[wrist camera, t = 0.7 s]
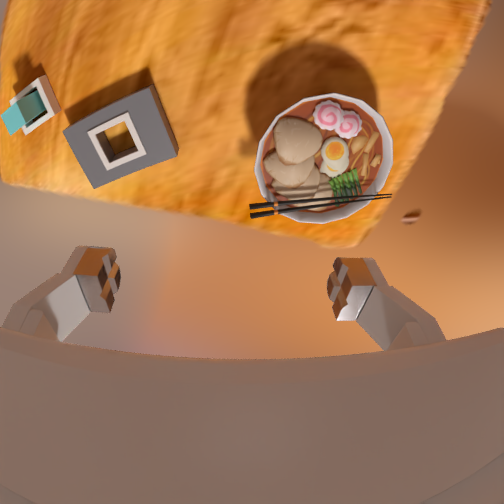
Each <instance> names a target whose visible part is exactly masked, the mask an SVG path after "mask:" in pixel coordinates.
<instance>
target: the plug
mask: <svg viewBox="0 0 504 504" xmlns="http://www.w3.org/2000/svg"><path fill="white" fill-rule="evenodd" d="M45 110H46V107H45V105H44V103H43V101H42V98H41V96H40V94H39V92H38V90H37V91H35V92H33V93H31V94H29V95H27V96H26V97H24V98H22V99H20V100H18V101H17V102H15V103H14V104H13V105H12V106H11V107H9V108H8V109H7V110H6V111H5V112H4V113H3V114H2V115H1V117H2V119H3V121H4V123H5V125H6V127H7V129H8V131H9V133H10V135H12V134H13V133H14V132H16V131H17V130H18V129H20V128H21V127H22V126H24V125H25V124H27V123H28V122H29V121H31V120H32V119H34V118H35V117H36V116H38V115H39V114H41V113H42V112H43V111H45Z"/></svg>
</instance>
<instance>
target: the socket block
mask: <svg viewBox="0 0 504 504" xmlns="http://www.w3.org/2000/svg"><path fill="white" fill-rule="evenodd" d="M123 121H125V123H126V125H127V127H128V129H129V132H130V134H131V136H132V138H133V140H134V142H135V145H136V146H134V147H132V148H130V149H127V150H125V151H123V152H120V153H118V154H116V155H115V154H114V152H113V150H112V148H111V146H110V144H109V142H108V140H107V137H106V135H105V133H104V130H106V129H108V128H110V127H112V126H114V125H116V124H118V123H121V122H123ZM62 132H63V133H64V135H65V137H66V139H67V141H68V143H69V145H70V147H71V149H72V151H73V153H74V154H75V156H76V158H77V160H78V162H79V164H80V165H81V167H82V169H83V171H84V173H85V174H86V176H87V178H88V180H89V181H90V183H91V185H92V186H93V188H94V189H95V188H98V187H100V186H102V185H104V184H107V183H109V182H111V181H114V180H116V179H119V178H121V177H123V176H126V175H128V174H131V173H133V172H136V171H138V170H141V169H144V168H146V167H149V166H152V165H154V164H157V163H160V162H163V161H165V160H168V159H171V158H174V157H177V155H178V151H179V147H178V145H177V143H176V140H175V138H174V135H173V133H172V130H171V128H170V125H169V123H168V120H167V118H166V115H165V113H164V110H163V108H162V105H161V102H160V100H159V97H158V95H157V92H156V90H155V87H154V85H153V84H152V85H150V86H147V87H145V88H142V89H140V90H138V91H135V92H133V93H131V94H129V95H127V96H124V97H122V98H120V99H118V100H116V101H114V102H112V103H110V104H108V105H106V106H104V107H102V108H100V109H98V110H96V111H94V112H92V113H90V114H89V115H87V116H85V117H83V118H81V119H80V120H78V121H76V122H74V123H73V124H71V125H69V126H68V127H67V128H66V129H65V130H64V131H62Z"/></svg>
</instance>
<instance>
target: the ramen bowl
mask: <svg viewBox="0 0 504 504" xmlns="http://www.w3.org/2000/svg"><path fill="white" fill-rule="evenodd" d="M392 165H393V139H392V137H391V134H390V132H389V129H388V127H387V125H386V123H385V120H384V118H383V117H382V116H381V115H380V114H379V113H378V112H377V111H375V110H374V109H373V108H372V107H371V106H369V105H368V104H367V103H366V102H365V101H363V100H361V99H357V98H354V97H350V96H346V95H343V94H339V93H329V94H323V95H317V96H312V97H307V98H303V99H301V100H300V101H298V102H297V103H295V104H294V105H292V106H291V107H289V108H287V109H286V110H284V111H283V112H281V113H280V114H278V115H277V116H276V117H275V118H274V120H273V121H272V123H271V124H270V126H269V128H268V129H267V131H266V132H265V134H264V135H263V137H262V138H261V140H260V141H259V145H258V151H257V156H256V162H255V168H254V172H255V175H256V178H257V182H258V185H259V188H260V192H261V195H262V196H263V197H264V198H265V199H266V200H267V202H265V203H255V204H249V207H250V209H258V208H266V207H273V208H274V209H275V210H270V211H263V212H256V213H250V217H251V219H252V218H258V217H264V216H270V215H275V214H282V215H284V216H286V217H288V218H291V219H293V220H295V221H298V222H304V223H319V224H324V223H328V222H332V221H335V220H339V219H343V218H346V217H348V216H350V215H352V214H353V213H355V212H357V211H358V210H360V209H361V208H363V207H365V206H366V205H368V204H369V203H370V201H371V200H375V199H383V198H390V197H391V196H390V197H379V198H374V197H375V196H383V195H392V194H377V193H378V192H379V191H380V190H381V189H382V187H383V186H384V184H385V182H386V179H387V177H388V174H389V172H390V169H391V167H392Z"/></svg>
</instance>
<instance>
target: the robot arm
mask: <svg viewBox="0 0 504 504" xmlns="http://www.w3.org/2000/svg"><path fill="white" fill-rule="evenodd" d="M116 258H117V256H116V252H115V249H113V248H108V247H93V246H90V247H89V246H78V247H76V248H75V250H74V252H73V253H72V255H71V256H70V258H69V260H68V261H67V263H66V265H65V267H64V268H63V270H62V272H61V273H60V274H59V273H57V274H56V275H54V276H53V277H51V278H50V279H48V280H47V281H46V282H44V283H42V284H41V285H40V286H38V287H37V288H35V289H34V290H32V291H31V292H30V293H28V294H27V295H25V296H24V297H23V298H21V299H20V300H18V301H17V302H16V303H14V304H13V306H12V308H11V310H10V312H9V314H8V315H7V317H6V319H5V321H4V323H3V325H2V327H0V504H504V328H497V329H493V330H490V331H486V332H482V333H478V334H474V335H470V336H466V337H461V338H457V339H452V340H446V339H445V336H444V334H443V332H442V331H441V329H440V327H439V325H438V323H437V321H436V319H435V318H434V317H433V316H431V315H430V314H429V313H427V312H426V311H425V310H424V309H422V308H421V307H420V306H418V305H417V304H416V303H414V302H413V301H411V300H410V299H409V298H408V297H406V296H405V295H404V294H402V293H401V292H400V291H398V290H397V289H395V288H394V287H393V286H389V285H388V283H387V281H386V280H385V278H384V276H383V274H382V272H381V271H380V269H379V267H378V265H377V264H376V262H375V260H374V259H373V258H339V257H338V258H336V259H335V261H334V264H333V268H334V270H335V271H334V272H332V273H331V274H330V275H329V278H328V281H327V293H328V296H329V299H330V300H332V301H333V302H334V304H333V306H332V308H333V312H334V314H335V318H336V320H337V321H341V320H343V321H344V320H356V322H357V323H358V324H359V325H360V326H361V327H362V328H363V329H364V330H365V331H366V332H367V333H368V334H369V335H370V336H371V337H372V338H373V339H374V341H375V342H376V343H377V344H378V345H379V346H380V347H381V348H382V349H383V350H384V351H379V352H372V353H362V354H352V355H342V356H329V357H315V358H294V359H209V358H188V357H174V356H160V355H150V354H141V353H131V352H123V351H116V350H108V349H101V348H94V347H89V346H82V345H77V344H71V343H66V342H62V341H63V340H64V339H65V338H66V337H67V336H68V335H69V334H70V333H71V332H72V331H73V330H74V328H75V327H76V326H77V325H78V324H80V322H82V320H83V319H84V318H85V317H86V316H87V315H88V314H89V313H90V312H102V313H110V312H111V309H112V306H113V303H114V301H115V299H114V296H113V294H115V293H116V292H117V291H118V289H119V286H120V279H121V274H120V268H119V266H118V265H117V264H116V263H115V260H116Z"/></svg>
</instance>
